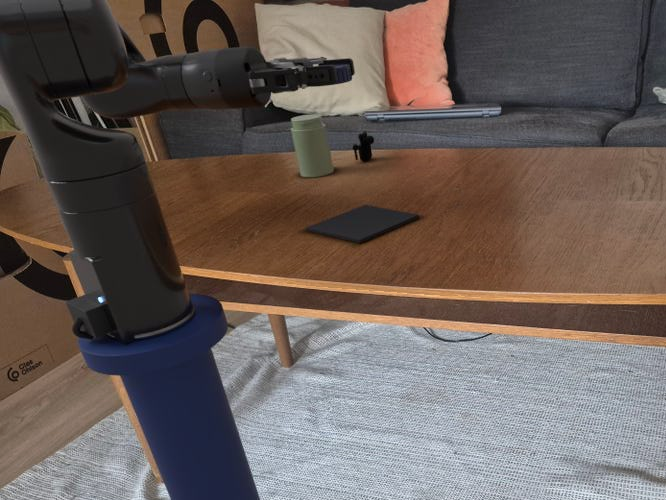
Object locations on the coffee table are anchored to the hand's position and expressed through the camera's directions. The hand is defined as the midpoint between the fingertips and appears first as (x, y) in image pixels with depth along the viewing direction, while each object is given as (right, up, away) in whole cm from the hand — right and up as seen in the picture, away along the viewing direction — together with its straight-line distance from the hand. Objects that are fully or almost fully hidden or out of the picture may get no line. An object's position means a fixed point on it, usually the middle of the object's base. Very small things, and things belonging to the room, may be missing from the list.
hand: (344, 70), depth 87 cm
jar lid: (-3, 0, 0) cm, 3 cm away
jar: (-12, -4, +33) cm, 35 cm away
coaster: (+2, -19, +5) cm, 20 cm away
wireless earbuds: (-3, 0, +38) cm, 38 cm away
